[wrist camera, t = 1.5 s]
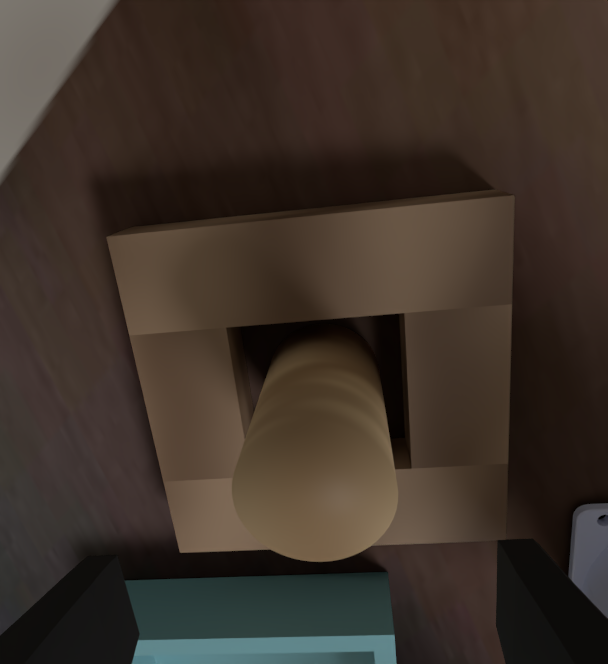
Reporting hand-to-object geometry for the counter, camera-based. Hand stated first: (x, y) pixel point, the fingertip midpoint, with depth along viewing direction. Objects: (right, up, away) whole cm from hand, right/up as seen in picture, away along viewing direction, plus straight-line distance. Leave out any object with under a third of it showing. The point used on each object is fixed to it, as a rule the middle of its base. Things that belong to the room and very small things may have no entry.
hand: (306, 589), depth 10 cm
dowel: (+1, +3, +9) cm, 10 cm away
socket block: (+1, +3, +9) cm, 10 cm away
